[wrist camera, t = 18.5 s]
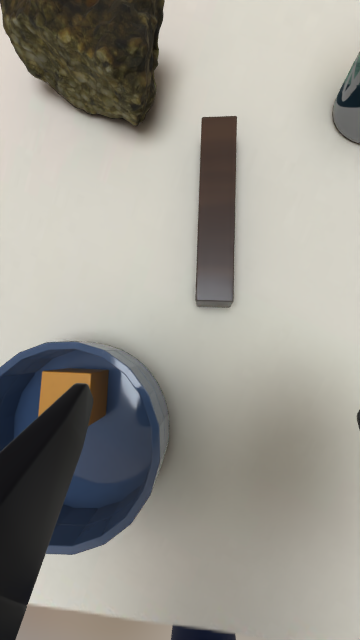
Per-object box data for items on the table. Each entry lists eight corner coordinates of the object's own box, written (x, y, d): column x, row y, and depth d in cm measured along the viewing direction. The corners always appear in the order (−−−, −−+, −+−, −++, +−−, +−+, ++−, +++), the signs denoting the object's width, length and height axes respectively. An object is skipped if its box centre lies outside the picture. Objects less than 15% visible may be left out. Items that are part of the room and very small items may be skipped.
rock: (-56, 21, 17) (-33, -130, 16) (21, 111, 26) (38, 18, 25) (143, 86, 18) (175, -52, 17) (151, 151, 27) (172, 63, 26)
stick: (233, 301, 19) (236, 115, 21) (195, 300, 19) (201, 116, 21) (230, 307, 22) (233, 141, 23) (196, 306, 22) (202, 142, 23)
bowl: (171, 513, 20) (162, 558, 16) (9, 509, 22) (-42, 551, 17) (167, 341, 22) (157, 338, 17) (15, 346, 23) (-30, 344, 18)
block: (106, 415, 21) (87, 427, 18) (63, 412, 21) (37, 424, 18) (109, 369, 22) (91, 373, 18) (67, 367, 22) (41, 371, 18)
